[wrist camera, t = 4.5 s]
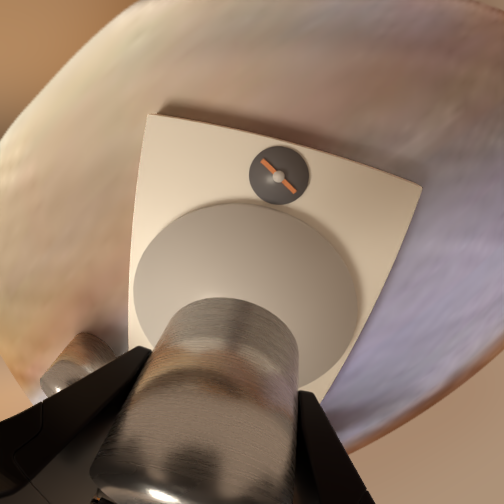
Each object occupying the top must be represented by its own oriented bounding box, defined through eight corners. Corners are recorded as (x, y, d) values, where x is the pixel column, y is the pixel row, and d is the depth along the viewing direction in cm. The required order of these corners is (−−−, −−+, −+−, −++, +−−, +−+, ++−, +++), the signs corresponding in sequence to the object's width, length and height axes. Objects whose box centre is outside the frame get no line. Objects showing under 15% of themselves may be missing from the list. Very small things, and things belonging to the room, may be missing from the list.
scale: (317, 396, 20) (318, 412, 19) (134, 346, 20) (125, 360, 19) (415, 182, 14) (426, 189, 12) (156, 113, 14) (143, 114, 13)
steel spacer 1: (118, 379, 22) (91, 425, 18) (76, 361, 22) (46, 402, 18) (116, 344, 21) (83, 392, 16) (71, 325, 21) (34, 367, 16)
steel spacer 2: (276, 409, 10) (260, 546, 5) (161, 378, 10) (104, 503, 5) (318, 319, 8) (327, 500, 4) (170, 279, 8) (70, 430, 4)
